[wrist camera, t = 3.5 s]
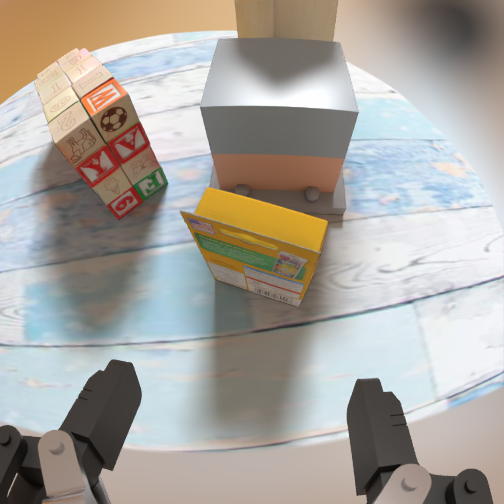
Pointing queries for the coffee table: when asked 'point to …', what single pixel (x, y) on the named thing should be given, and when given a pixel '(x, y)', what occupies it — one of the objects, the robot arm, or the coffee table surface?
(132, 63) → the coffee table surface
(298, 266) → the crayon box
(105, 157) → the stack of blocks
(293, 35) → the tall beige wooden block
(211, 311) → the coffee table surface
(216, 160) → the two-tone cube on base
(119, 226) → the coffee table surface
